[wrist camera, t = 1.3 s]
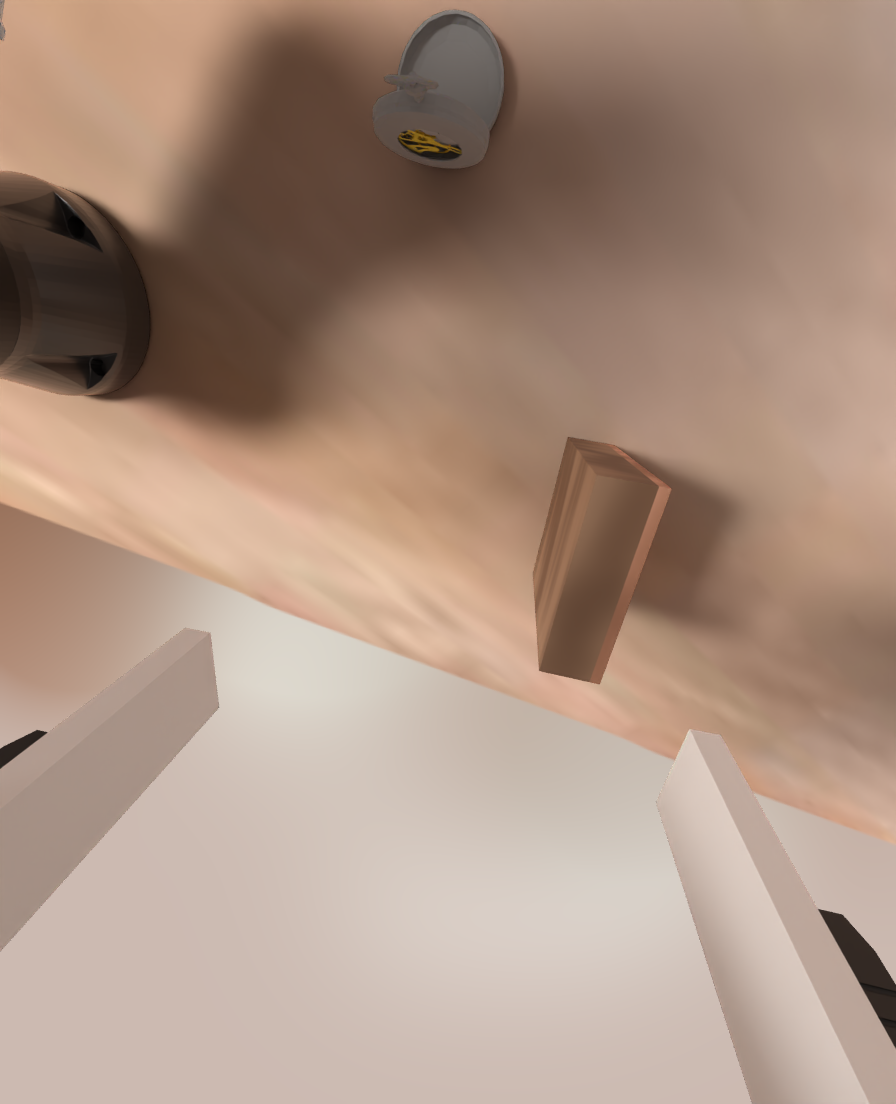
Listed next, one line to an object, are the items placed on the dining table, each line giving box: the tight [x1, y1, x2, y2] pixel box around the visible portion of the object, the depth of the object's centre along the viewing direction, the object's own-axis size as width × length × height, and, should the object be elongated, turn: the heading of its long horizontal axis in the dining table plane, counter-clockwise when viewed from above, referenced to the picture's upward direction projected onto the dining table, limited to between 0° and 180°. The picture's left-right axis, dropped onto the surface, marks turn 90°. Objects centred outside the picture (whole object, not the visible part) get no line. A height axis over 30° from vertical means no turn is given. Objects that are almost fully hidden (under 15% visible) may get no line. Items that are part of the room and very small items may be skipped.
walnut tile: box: [533, 437, 672, 684], centre depth 30 cm, size 4×12×14 cm, turn 171°
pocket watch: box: [373, 10, 504, 169], centre depth 23 cm, size 8×8×10 cm
